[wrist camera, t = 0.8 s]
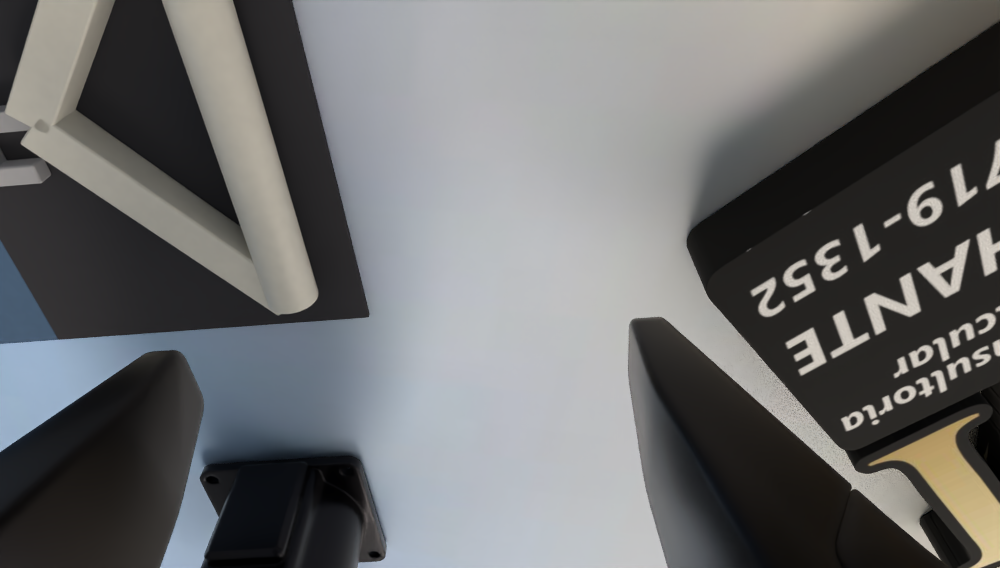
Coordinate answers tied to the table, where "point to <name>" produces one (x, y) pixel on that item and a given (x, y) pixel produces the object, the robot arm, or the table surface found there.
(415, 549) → the table surface
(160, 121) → the mat
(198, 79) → the hanger
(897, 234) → the decorative sign
